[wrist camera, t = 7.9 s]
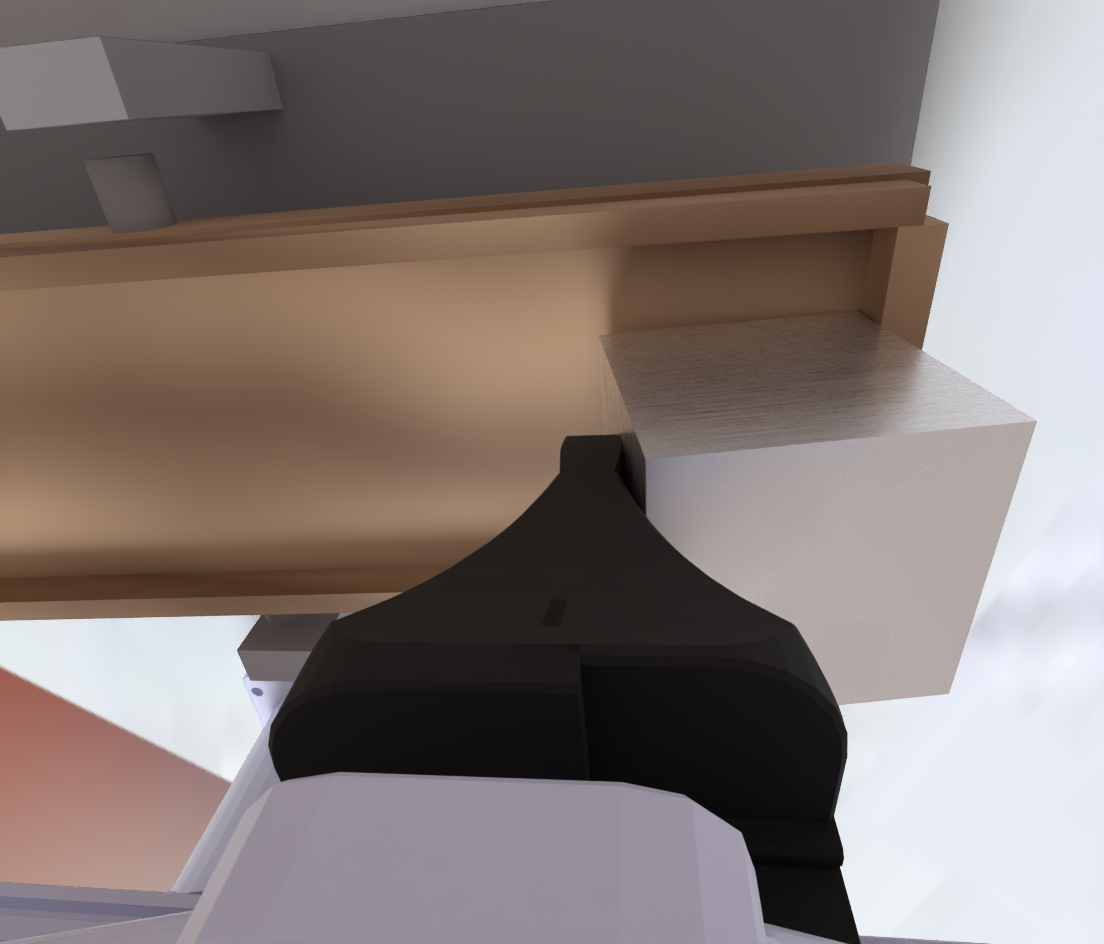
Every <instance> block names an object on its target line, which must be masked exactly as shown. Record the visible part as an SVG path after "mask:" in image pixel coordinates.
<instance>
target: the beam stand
mask: <svg viewBox="0 0 1104 944" xmlns="http://www.w3.org/2000/svg"><path fill="white" fill-rule="evenodd" d="M938 5H939V0H553V1H544V2H536V3H527V4H518V5H509V6H500V7H491V8H482V9H473V10H464V11H455V12H446V13H437V14H428V15H419V16H410V17H401V18H392V19H383V20H374V21H365V22H356V23H347V24H338V25H329V26H320V27H311V28H302V29H293V30H284V31H275V32H266V33H257V34H248V35H239V36H230V37H221V38H212V39H203V40H194V41H185V42H176V43H164V42H154V41H143V40H133V39H123V38H112V37H102V36H97V37H89V38H80V39H71V40H62V41H54V42H45V43H36V44H27V45H19V46H10V47H1V48H0V234H9V233H22V232H34V231H47V230H59V229H72V228H85V227H97V226H109V224H108V221H107V219H106V216H105V214H104V211H103V209H102V206H101V204H100V201H99V199H98V196H97V194H96V191H95V189H94V186H93V184H92V181H91V179H90V176H89V174H88V171H87V169H86V166H85V163H84V160H91V159H99V158H107V157H117V156H126V155H137V154H149V153H153V154H154V157H155V160H156V163H157V166H158V169H159V172H160V175H161V177H162V180H163V183H164V186H165V189H166V192H167V195H168V197H169V200H170V203H171V206H172V209H173V212H174V215H175V218H176V220H185V219H197V218H210V217H222V216H235V215H247V214H260V213H272V212H285V211H298V210H310V209H323V208H335V207H348V206H360V205H373V204H385V203H398V202H410V201H423V200H435V199H448V198H460V197H473V196H486V195H498V194H511V193H523V192H536V191H548V190H561V189H573V188H586V187H598V186H611V185H623V184H636V183H648V182H661V181H674V180H686V179H699V178H711V177H724V176H736V175H749V174H761V173H774V172H786V171H799V170H811V169H824V168H836V167H849V166H862V165H874V164H887V163H900V164H904V165H908V166H910V164H911V158H912V152H913V147H914V141H915V135H916V130H917V124H918V118H919V113H920V107H921V101H922V96H923V90H924V84H925V79H926V73H927V67H928V62H929V56H930V51H931V45H932V39H933V34H934V28H935V22H936V17H937V11H938ZM350 614H353V613H314V614H304V615H302V616H301V617H300V618H298V619H297V620H295V621H292V622H289V623H286V624H272V623H270V622H268V621H267V619H266V617H265V615H261V617H260V618H259V619H258V621H257V622H256V624H255V625H254V627H253V628H252V629H251V631H250V632H249V634H248V635H247V637H246V638H245V640H244V641H243V642H242V644H241V645H240V647H239V648H238V650H237V651H238V654H239V656H240V658H241V660H242V663H243V665H244V667H245V670H246V672H247V674H248V676H249V679H250V681H281V682H295V680H296V678H297V676H298V674H299V672H300V671H301V669H302V667H303V665H304V663H305V662H306V660H307V658H308V656H309V655H310V653H311V651H312V649H313V648H314V646H315V645H316V644H317V642H318V641H319V639H320V638H321V636H322V635H323V633H324V632H325V630H326V629H327V627H328V625H329V624H330V622H331V621H334V620H337V619H340V618H342V617H345V616H348V615H350Z"/></svg>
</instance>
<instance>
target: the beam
mask: <svg viewBox="0 0 1104 944" xmlns="http://www.w3.org/2000/svg"><path fill="white" fill-rule="evenodd" d="M84 163H85V166H86V169H87V171H88V174H89V176H90V179H91V181H92V184H93V186H94V189H95V191H96V194H97V196H98V199H99V201H100V204H101V206H102V209H103V211H104V214H105V216H106V219H107V221H108V224H109V226H97V227H85V228H72V229H59V230H47V231H34V232H22V233H9V234H0V621H6V620H50V619H94V618H138V617H182V616H226V615H265V617H266V619H267V621H268V622H270V623H272V624H286V623H289V622H292V621H295V620H297V619H298V618H300V617H301V616H302V615H304V614H314V613H355V612H358V611H360V610H363V609H365V608H368V607H370V606H372V605H375V604H377V603H380V602H382V601H385V600H387V599H390V598H392V597H394V596H396V595H399V594H401V593H403V592H405V591H407V590H409V589H411V588H413V587H415V586H417V585H419V584H421V583H423V582H425V581H427V580H429V579H431V578H433V577H434V576H436V575H438V574H440V573H442V572H443V571H445V570H447V569H449V568H450V567H452V566H454V565H455V564H457V563H458V562H460V561H461V560H463V559H464V558H466V557H467V556H469V555H470V554H472V553H473V552H475V551H476V550H478V549H479V548H481V547H482V546H484V545H485V544H487V543H488V542H490V541H491V540H492V539H494V538H495V537H496V536H497V535H499V534H500V533H501V532H502V531H504V530H505V529H506V528H507V527H509V526H510V525H511V524H512V523H513V522H514V521H515V520H516V519H518V518H519V517H520V516H521V515H522V514H523V513H524V512H525V511H526V510H527V509H528V507H529V506H530V505H531V504H532V503H533V502H534V501H535V500H536V499H537V498H538V497H539V496H540V495H541V494H542V493H543V492H544V491H545V489H546V488H547V487H548V486H549V485H550V483H551V482H552V481H553V480H554V479H555V477H556V476H557V475H558V474H559V472H560V449H561V446H562V444H563V441H564V440H565V438H566V436H581V435H603V425H602V403H601V381H600V360H599V338H598V335H603V334H614V333H624V332H634V331H645V330H655V329H665V328H676V327H686V326H696V325H707V324H717V323H727V322H738V321H748V320H758V319H769V318H779V317H789V316H800V315H810V314H820V313H831V312H841V311H851V310H856V311H858V312H859V313H861V314H863V315H864V316H866V317H868V318H869V319H871V320H872V321H874V322H876V323H877V324H879V325H881V326H882V327H884V328H886V329H887V330H889V331H891V332H892V333H894V334H895V335H897V336H899V337H900V338H902V339H904V340H905V341H907V342H909V343H910V344H912V345H913V346H915V347H917V348H918V349H920V350H922V347H923V342H924V337H925V333H926V328H927V323H928V319H929V314H930V309H931V305H932V300H933V295H934V290H935V286H936V281H937V276H938V272H939V267H940V262H941V257H942V253H943V248H944V243H945V239H946V234H947V229H948V225H949V223H946V222H943V221H941V220H938V219H935V218H933V217H930V216H927V215H926V210H927V205H928V200H929V195H930V189H931V186H928V183H929V178H930V172H931V171H929V170H925V169H920V168H916V167H912V166H908V165H904V164H900V163H887V164H874V165H862V166H849V167H836V168H824V169H811V170H799V171H786V172H774V173H761V174H749V175H736V176H724V177H711V178H699V179H686V180H674V181H661V182H648V183H636V184H623V185H611V186H598V187H586V188H573V189H561V190H548V191H536V192H523V193H511V194H498V195H486V196H473V197H460V198H448V199H435V200H423V201H410V202H398V203H385V204H373V205H360V206H348V207H335V208H323V209H310V210H298V211H285V212H272V213H260V214H247V215H235V216H222V217H210V218H197V219H185V220H176V218H175V215H174V212H173V209H172V206H171V203H170V200H169V197H168V195H167V192H166V189H165V186H164V183H163V180H162V177H161V175H160V172H159V169H158V166H157V163H156V160H155V157H154V154H153V153H149V154H137V155H126V156H117V157H107V158H99V159H91V160H84Z"/></svg>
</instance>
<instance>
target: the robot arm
mask: <svg viewBox="0 0 1104 944" xmlns="http://www.w3.org/2000/svg"><path fill="white" fill-rule="evenodd" d="M243 683H244V685H245V687H246V689H247V692H248V694H249V696H250V698H251V701H252V703H253V705H254V707H255V709H256V712H257V714H258V716H259V718H260V720H261V723H262V725H263V727H264V728H263V730H262V732H261V734H260V735H259V737H258V739H257V741H256V742H255V744H254V746H253V748H252V749H251V751H250V753H249V755H248V756H247V758H246V760H245V762H244V763H243V765H242V767H241V769H240V770H239V772H238V774H237V776H236V777H235V779H234V781H233V783H232V784H231V786H230V788H229V790H228V791H227V793H226V795H225V797H224V798H223V800H222V802H221V804H220V806H219V807H218V809H217V811H216V813H215V814H214V816H213V818H212V820H211V821H210V823H209V825H208V827H207V828H206V830H205V832H204V834H203V835H202V837H201V839H200V841H199V843H198V844H197V846H196V848H195V849H194V851H193V853H192V855H191V856H190V858H189V860H188V862H187V863H186V865H185V867H184V869H183V871H182V872H181V874H180V876H179V878H178V879H177V881H176V883H175V885H174V886H173V888H172V890H169V891H166V892H153V891H137V890H121V889H105V888H90V887H74V886H58V885H41V884H25V883H10V882H0V944H986V943H970V942H954V941H938V940H922V939H906V938H890V937H874V936H859V935H858V932H857V928H856V924H855V921H854V917H853V913H852V910H851V906H850V902H849V899H848V895H847V891H846V888H845V884H844V881H843V877H842V873H841V870H840V866H842V864H843V860H844V855H843V847H842V843H841V840H840V836H839V833H838V829H837V826H836V822H835V819H834V813H835V809H836V804H837V800H838V795H839V791H840V786H841V782H842V777H843V773H844V768H845V764H846V759H847V731H846V728H845V725H844V721H843V718H842V714H841V712H840V709H839V706H838V704H837V701H836V699H835V696H834V694H833V692H832V690H831V688H830V686H829V684H828V682H827V680H826V678H825V676H824V674H823V672H822V670H821V668H820V666H819V665H818V663H817V661H816V659H815V657H814V655H813V654H812V652H811V650H810V648H809V647H808V645H807V643H806V642H805V640H804V638H803V637H802V635H801V633H800V632H799V630H798V628H797V627H796V626H795V625H794V624H793V623H791V622H789V621H787V620H785V619H783V618H781V617H779V616H777V615H775V614H773V613H771V612H769V611H767V610H765V609H763V608H761V607H759V606H757V605H755V604H754V603H752V602H750V601H748V600H746V599H744V598H742V597H740V596H739V595H737V594H735V593H734V592H732V591H731V590H729V589H728V588H726V587H724V586H723V585H721V584H720V583H718V582H717V581H715V580H714V579H712V578H711V577H709V576H708V575H707V574H705V573H704V572H703V571H701V570H700V569H699V568H698V567H696V566H695V565H694V564H693V563H691V562H690V561H689V560H688V559H686V558H685V557H684V556H683V555H682V554H681V553H680V552H679V551H678V550H676V549H675V548H674V547H673V546H672V545H671V544H670V543H669V542H668V541H667V540H666V539H665V538H664V536H663V535H662V534H661V533H660V532H659V531H658V530H657V529H656V528H655V527H654V525H653V524H652V523H651V522H650V521H649V519H648V518H647V517H646V516H645V514H644V513H643V512H642V510H641V509H640V508H639V506H638V505H637V503H636V502H635V501H634V499H633V498H632V496H631V495H630V493H629V492H628V490H627V488H626V486H625V485H624V483H623V475H622V445H621V440H620V439H619V437H618V436H617V435H616V434H613V435H581V436H566V438H565V440H564V441H563V444H562V446H561V449H560V472H559V474H558V475H557V476H556V477H555V479H554V480H553V481H552V482H551V483H550V485H549V486H548V487H547V488H546V489H545V491H544V492H543V493H542V494H541V495H540V496H539V497H538V498H537V499H536V500H535V501H534V502H533V503H532V504H531V505H530V506H529V507H528V509H527V510H526V511H525V512H524V513H523V514H522V515H521V516H520V517H519V518H518V519H516V520H515V521H514V522H513V523H512V524H511V525H510V526H509V527H507V528H506V529H505V530H504V531H502V532H501V533H500V534H499V535H497V536H496V537H495V538H494V539H492V540H491V541H490V542H488V543H487V544H485V545H484V546H482V547H481V548H479V549H478V550H476V551H475V552H473V553H472V554H470V555H469V556H467V557H466V558H464V559H463V560H461V561H460V562H458V563H457V564H455V565H454V566H452V567H450V568H449V569H447V570H445V571H443V572H442V573H440V574H438V575H436V576H434V577H433V578H431V579H429V580H427V581H425V582H423V583H421V584H419V585H417V586H415V587H413V588H411V589H409V590H407V591H405V592H403V593H401V594H399V595H396V596H394V597H392V598H390V599H387V600H385V601H382V602H380V603H377V604H375V605H372V606H370V607H368V608H365V609H363V610H360V611H358V612H355V613H353V614H350V615H348V616H345V617H342V618H340V619H337V620H334V621H331V622H330V624H329V625H328V627H327V629H326V630H325V632H324V633H323V635H322V636H321V638H320V639H319V641H318V642H317V644H316V645H315V646H314V648H313V649H312V651H311V653H310V655H309V656H308V658H307V660H306V662H305V663H304V665H303V667H302V669H301V671H300V672H299V674H298V676H297V678H296V680H295V682H281V681H250V679H249V676H248V674H247V673H246V674H245V676H244V678H243Z"/></svg>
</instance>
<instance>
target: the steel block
mask: <svg viewBox="0 0 1104 944" xmlns="http://www.w3.org/2000/svg"><path fill="white" fill-rule="evenodd" d="M598 338H599V360H600V381H601V403H602V425H603V435H613V434H616V435H617V436H618V437H619V439H620V440H621V445H622V475H623V483H624V485H625V486H626V488H627V490H628V492H629V493H630V495H631V496H632V498H633V499H634V501H635V502H636V503H637V505H638V506H639V508H640V509H641V510H642V512H643V513H644V514H645V516H646V517H647V518H648V519H649V521H650V522H651V523H652V524H653V525H654V527H655V528H656V529H657V530H658V531H659V532H660V533H661V534H662V535H663V536H664V538H665V539H666V540H667V541H668V542H669V543H670V544H671V545H672V546H673V547H674V548H675V549H676V550H678V551H679V552H680V553H681V554H682V555H683V556H684V557H685V558H686V559H688V560H689V561H690V562H691V563H693V564H694V565H695V566H696V567H698V568H699V569H700V570H701V571H703V572H704V573H705V574H707V575H708V576H709V577H711V578H712V579H714V580H715V581H717V582H718V583H720V584H721V585H723V586H724V587H726V588H728V589H729V590H731V591H732V592H734V593H735V594H737V595H739V596H740V597H742V598H744V599H746V600H748V601H750V602H752V603H754V604H755V605H757V606H759V607H761V608H763V609H765V610H767V611H769V612H771V613H773V614H775V615H777V616H779V617H781V618H783V619H785V620H787V621H789V622H791V623H793V624H794V625H795V626H796V627H797V628H798V630H799V632H800V633H801V635H802V637H803V638H804V640H805V642H806V643H807V645H808V647H809V648H810V650H811V652H812V654H813V655H814V657H815V659H816V661H817V663H818V665H819V666H820V668H821V670H822V672H823V674H824V676H825V678H826V680H827V682H828V684H829V686H830V688H831V690H832V692H833V694H834V696H835V699H836V701H837V704H838V705H844V704H853V703H863V702H873V701H882V700H892V699H902V698H912V697H921V696H931V695H941V694H949V692H950V689H951V685H952V682H953V679H954V676H955V673H956V670H957V667H958V664H959V661H960V658H961V654H962V651H963V648H964V645H965V642H966V639H967V636H968V633H969V630H970V627H971V624H972V620H973V617H974V614H975V611H976V608H977V605H978V602H979V599H980V596H981V593H982V589H983V586H984V583H985V580H986V577H987V574H988V571H989V568H990V565H991V562H992V559H993V555H994V552H995V549H996V546H997V543H998V540H999V537H1000V534H1001V531H1002V528H1003V524H1004V521H1005V518H1006V515H1007V512H1008V509H1009V506H1010V503H1011V500H1012V497H1013V494H1014V490H1015V487H1016V484H1017V481H1018V478H1019V475H1020V472H1021V469H1022V466H1023V463H1024V459H1025V456H1026V453H1027V450H1028V447H1029V444H1030V441H1031V438H1032V435H1033V432H1034V429H1035V425H1036V422H1037V421H1036V420H1035V419H1033V418H1031V417H1030V416H1028V415H1027V414H1025V413H1023V412H1022V411H1020V410H1018V409H1017V408H1015V407H1013V406H1012V405H1010V404H1009V403H1007V402H1005V401H1004V400H1002V399H1000V398H999V397H997V396H995V395H994V394H992V393H990V392H989V391H987V390H986V389H984V388H982V387H981V386H979V385H977V384H976V383H974V382H972V381H971V380H969V379H968V378H966V377H964V376H963V375H961V374H959V373H958V372H956V371H954V370H953V369H951V368H950V367H948V366H946V365H945V364H943V363H941V362H940V361H938V360H936V359H935V358H933V357H931V356H930V355H928V354H927V353H925V352H923V351H922V350H920V349H918V348H917V347H915V346H913V345H912V344H910V343H909V342H907V341H905V340H904V339H902V338H900V337H899V336H897V335H895V334H894V333H892V332H891V331H889V330H887V329H886V328H884V327H882V326H881V325H879V324H877V323H876V322H874V321H872V320H871V319H869V318H868V317H866V316H864V315H863V314H861V313H859V312H858V311H856V310H851V311H841V312H831V313H820V314H810V315H800V316H789V317H779V318H769V319H758V320H748V321H738V322H727V323H717V324H707V325H696V326H686V327H676V328H665V329H655V330H645V331H634V332H624V333H614V334H603V335H598Z"/></svg>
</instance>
